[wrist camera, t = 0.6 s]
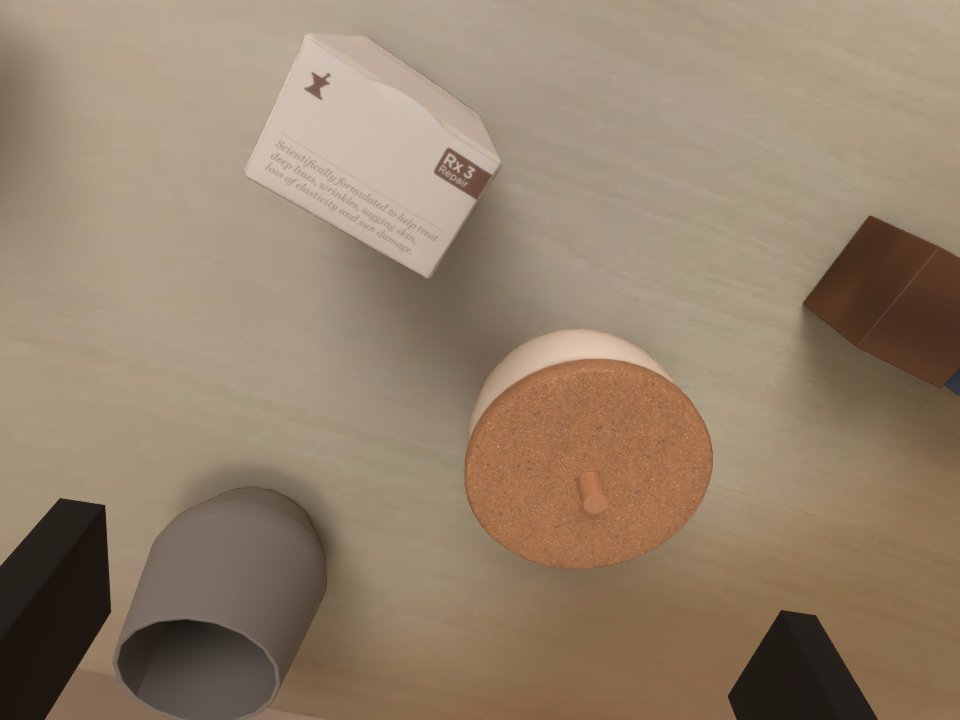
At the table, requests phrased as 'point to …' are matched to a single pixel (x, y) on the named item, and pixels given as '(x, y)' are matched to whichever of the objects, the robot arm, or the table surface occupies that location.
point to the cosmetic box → (375, 150)
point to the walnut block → (895, 300)
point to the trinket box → (584, 451)
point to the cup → (222, 607)
